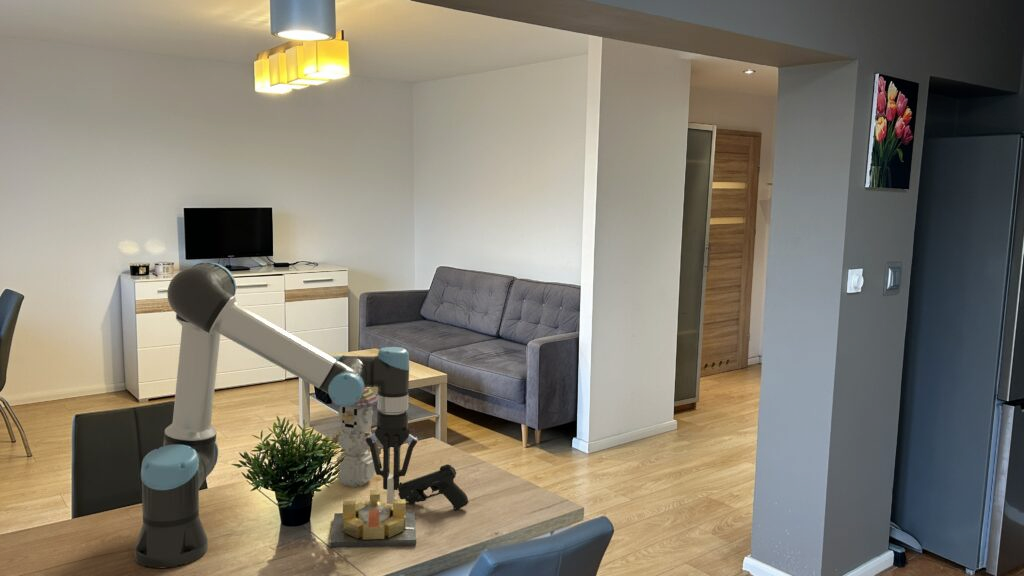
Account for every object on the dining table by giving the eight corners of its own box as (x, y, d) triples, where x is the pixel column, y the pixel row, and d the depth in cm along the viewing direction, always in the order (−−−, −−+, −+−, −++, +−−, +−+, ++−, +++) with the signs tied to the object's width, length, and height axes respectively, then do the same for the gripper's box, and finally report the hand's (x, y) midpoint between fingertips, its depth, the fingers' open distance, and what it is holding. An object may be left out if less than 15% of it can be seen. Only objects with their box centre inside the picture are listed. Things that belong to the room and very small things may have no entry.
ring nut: (340, 540, 184) (341, 515, 183) (344, 513, 198) (344, 490, 197) (405, 538, 186) (406, 514, 185) (404, 511, 201) (405, 489, 200)
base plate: (329, 548, 183) (329, 527, 182) (334, 518, 199) (334, 499, 198) (416, 545, 186) (416, 524, 185) (414, 516, 202) (414, 497, 201)
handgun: (468, 506, 206) (451, 464, 205) (411, 525, 210) (394, 484, 209) (470, 503, 208) (453, 461, 207) (413, 521, 212) (396, 481, 211)
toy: (318, 484, 220) (319, 380, 216) (342, 469, 232) (343, 370, 227) (368, 494, 215) (370, 387, 211) (390, 478, 226) (392, 377, 222)
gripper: (421, 407, 197) (418, 496, 200) (369, 404, 197) (367, 494, 200) (416, 416, 189) (414, 509, 193) (363, 413, 190) (361, 506, 193)
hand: (390, 501), depth 196 cm, fingers closed
